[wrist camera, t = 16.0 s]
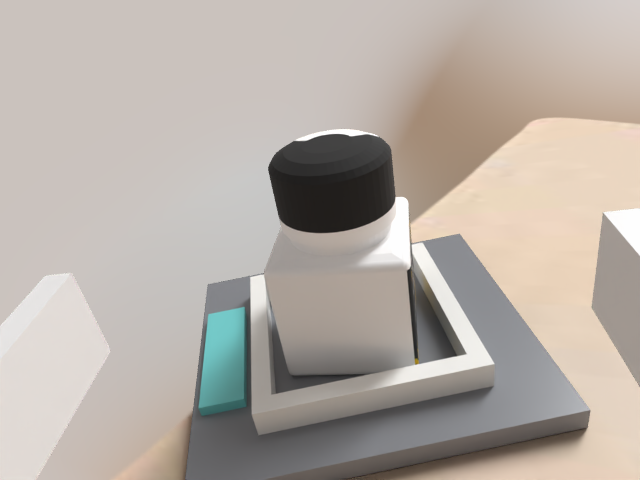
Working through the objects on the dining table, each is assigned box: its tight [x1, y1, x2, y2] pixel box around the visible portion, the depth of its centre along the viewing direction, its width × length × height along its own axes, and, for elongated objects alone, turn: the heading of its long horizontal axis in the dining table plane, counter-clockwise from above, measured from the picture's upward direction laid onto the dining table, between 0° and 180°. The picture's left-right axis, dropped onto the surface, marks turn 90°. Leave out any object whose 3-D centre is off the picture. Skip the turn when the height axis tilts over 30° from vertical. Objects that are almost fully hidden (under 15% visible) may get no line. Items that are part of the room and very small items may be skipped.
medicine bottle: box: [264, 129, 419, 376], centre depth 28 cm, size 7×7×12 cm
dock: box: [185, 234, 590, 480], centre depth 31 cm, size 19×17×3 cm
